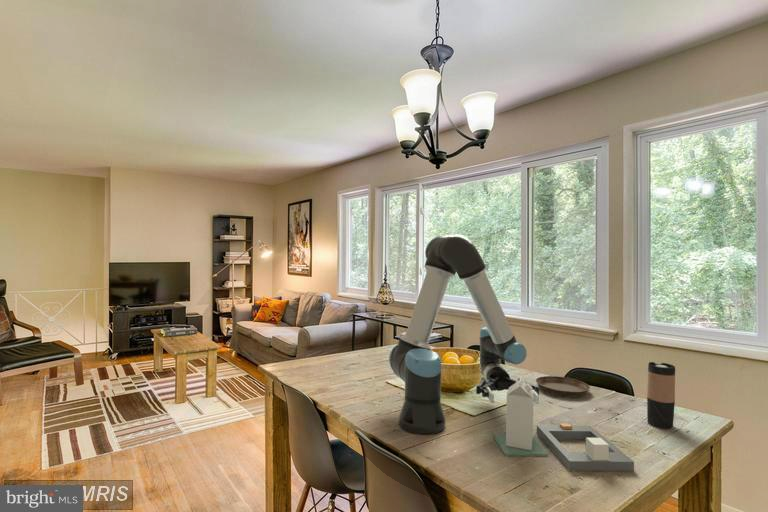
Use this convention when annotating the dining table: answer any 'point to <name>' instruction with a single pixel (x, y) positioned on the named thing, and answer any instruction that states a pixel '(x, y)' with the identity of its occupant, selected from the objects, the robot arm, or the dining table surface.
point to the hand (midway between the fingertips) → (515, 399)
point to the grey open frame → (597, 449)
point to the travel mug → (661, 395)
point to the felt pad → (513, 451)
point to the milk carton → (519, 416)
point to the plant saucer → (562, 386)
